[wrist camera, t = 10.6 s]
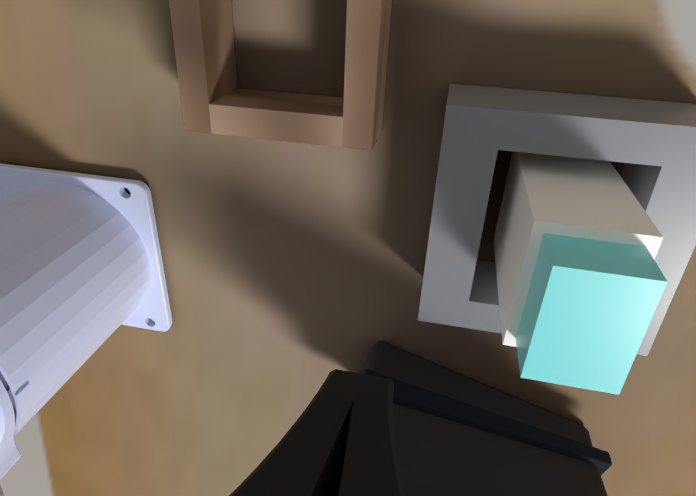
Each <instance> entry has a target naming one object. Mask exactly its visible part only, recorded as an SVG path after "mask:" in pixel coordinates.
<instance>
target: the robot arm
mask: <svg viewBox="0 0 696 496" xmlns="http://www.w3.org/2000/svg"><path fill="white" fill-rule="evenodd" d="M125 188H127V189H128V190H129V191H130V193H131V195H130V194H128V193H127V192H126V191H125ZM151 319H152V320H153V321H152V320H151ZM120 325H127V326H133V327H139V328H145V329H150V330H156V331H167V330H168V329H169V328H170V327H171V325H172V316H171V310H170V304H169V298H168V292H167V286H166V280H165V275H164V269H163V263H162V257H161V251H160V245H159V239H158V233H157V227H156V221H155V215H154V209H153V203H152V197H151V192H150V189H149V187H148V186H147V185H146V184H145V183H144V182H142V181H139V180H132V179H123V178H115V177H107V176H99V175H91V174H83V173H75V172H67V171H59V170H51V169H43V168H34V167H26V166H18V165H10V164H2V163H0V479H1V478H2V477H3V476H4V475H5V474H6V473H7V472H8V470H9V469H10V468H11V467H12V466H13V465H14V464H15V463H16V462H17V460H18V459H19V458H20V457H21V454H20V452H19V451H18V449H17V447H16V445H15V442H14V438H13V437H14V436H15V435H16V434H17V433H18V432H19V431H20V430H21V429H22V428H23V427H24V426H25V425H26V423H28V422H29V420H30V419H31V418H32V417H33V416H34V415H35V414H36V413H37V412H38V411H39V410H40V409H41V408H42V407H43V406H44V405H45V404H46V403H47V402H48V401H49V399H50V398H51V397H52V396H53V395H54V394H55V393H56V392H57V391H58V390H59V389H60V388H61V387H62V386H63V385H64V384H65V383H66V382H67V381H68V379H69V378H70V377H71V376H72V375H73V374H74V373H75V372H76V371H77V370H78V369H79V368H80V367H81V366H82V365H83V364H84V363H85V362H86V361H87V359H88V358H89V357H90V356H91V355H92V354H93V353H94V352H95V351H96V350H97V349H98V348H99V347H100V346H101V345H102V344H103V343H104V342H105V341H106V340H107V338H108V337H109V336H110V335H111V334H112V333H113V332H114V331H115V330H116V329H117V328H118V327H119V326H120ZM393 391H394V383H393V382H392V381H391V380H390V379H388V378H382V377H376V376H371V375H365V374H359V373H354V372H348V371H342V370H337V369H335V370H333V371H332V372H330V373H329V375H328V377H327V379H326V380H325V382H324V383H323V385H322V386H321V388H320V390H319V391H318V392H317V394H316V395H315V397H314V398H313V400H312V401H311V402H310V404H309V405H308V407H307V408H306V409H305V411H304V412H303V413H302V415H301V416H300V417H299V418H298V420H297V421H296V422H295V423H294V425H293V426H292V427H291V428H290V430H289V431H288V432H287V433H286V435H285V436H284V437H283V438H282V440H281V441H280V442H279V443H278V444H277V445H276V447H275V448H274V449H273V450H272V451H271V452H270V453H269V454H268V455H267V457H266V458H265V459H264V460H263V461H262V462H261V463H260V464H259V465H258V467H257V468H256V469H255V470H254V471H253V472H252V473H251V474H250V475H249V476H248V477H247V478H246V479H245V480H244V481H243V482H242V483H241V485H240V486H239V487H238V488H237V489H236V490H235V491H234V492H233V493H231V494H230V495H229V496H405V492H404V487H403V482H402V477H401V472H400V466H399V460H398V454H397V448H396V441H395V433H394V422H393ZM0 496H4V494H3V491H2V489H1V486H0Z"/></svg>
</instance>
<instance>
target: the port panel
mask: <svg viewBox="0 0 696 496" xmlns="http://www.w3.org/2000/svg"><path fill="white" fill-rule="evenodd" d="M498 150H504V151H514V152H524V153H534V154H543V155H553V156H563V157H573V158H583V159H593V160H603V161H613V162H622V163H624V166H623V169H622V172H621V177H622V179H623V180H624V182H625V183H626V185H627V186H628V187H629V189H630V190H631V192H632V193H633V195H634V196H635V197H636V199H637V200H638V202H639V203H640V205H641V206H642V207H643V209H644V210H645V212H646V213H647V215H648V216H649V217H650V219H651V220H652V222H653V223H654V225H655V226H656V227H657V229H658V230H659V232H660V233H661V235H662V236H663V240H662V242H661V245H660V247H659V250H658V252H657V255H656V257H655V262H656V264H657V265H658V267H659V268H660V270H661V272H662V273H663V275H664V276H665V278H666V280H667V281H668V282H667V285H666V287H665V289H664V292H663V294H662V296H661V299H660V301H659V303H658V305H657V308H656V310H655V312H654V315H653V317H652V319H651V322H650V324H649V326H648V329H647V331H646V333H645V336H644V338H643V340H642V343H641V345H640V347H639V350H638V352H637V354H636V355H643V356H647V355H648V353H649V351H650V348H651V346H652V344H653V342H654V339H655V337H656V335H657V332H658V330H659V328H660V325H661V323H662V321H663V319H664V316H665V314H666V312H667V309H668V307H669V305H670V302H671V300H672V298H673V296H674V293H675V291H676V289H677V286H678V284H679V282H680V279H681V277H682V275H683V273H684V270H685V268H686V266H687V263H688V261H689V259H690V256H691V254H692V252H693V250H694V247H695V245H696V104H692V103H680V102H667V101H655V100H643V99H631V98H619V97H607V96H595V95H583V94H571V93H559V92H546V91H534V90H522V89H510V88H498V87H486V86H474V85H462V84H450V85H449V92H448V98H447V104H446V112H445V119H444V127H443V134H442V142H441V149H440V157H439V164H438V172H437V179H436V187H435V194H434V202H433V209H432V216H431V224H430V231H429V239H428V246H427V254H426V261H425V269H424V276H423V284H422V291H421V299H420V306H419V314H418V321H424V322H431V323H437V324H444V325H450V326H456V327H463V328H469V329H476V330H482V331H489V332H495V333H501V334H502V332H501V321H500V309H499V298H498V287H497V275H496V264H495V262H488V261H481V260H477V256H478V251H479V246H480V241H481V236H482V230H483V225H484V220H485V215H486V210H487V204H488V199H489V194H490V189H491V184H492V178H493V173H494V168H495V163H496V158H497V152H498Z"/></svg>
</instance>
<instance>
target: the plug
mask: <svg viewBox="0 0 696 496" xmlns="http://www.w3.org/2000/svg"><path fill="white" fill-rule="evenodd" d="M662 240H663V236H662V235H661V233H660V232H659V230H658V229H657V227H656V226H655V225H654V223H653V222H652V220H651V219H650V217H649V216H648V215H647V213H646V212H645V210H644V209H643V207H642V206H641V205H640V203H639V202H638V200H637V199H636V197H635V196H634V195H633V193H632V192H631V190H630V189H629V187H628V186H627V185H626V183H625V182H624V180H623V179H622V177H621V176H620V175H619V173H618V172H617V170H616V169H615V167H614V166H613V165H612V163H611V162H610V161H603V160H593V159H583V158H573V157H563V156H553V155H543V154H534V153H524V152H514V151H513V152H512V157H511V161H510V166H509V171H508V175H507V180H506V185H505V189H504V194H503V198H502V203H501V208H500V212H499V217H498V222H497V226H496V231H495V235H494V240H493V241H494V253H495V264H496V275H497V287H498V298H499V309H500V321H501V332H502V343H503V345H508V346H514V347H517V354H518V362H519V370H520V378H526V379H531V380H537V381H543V382H549V383H554V384H560V385H566V386H572V387H578V388H583V389H589V390H595V391H601V392H606V393H612V394H618V395H619V394H620V391H621V389H622V387H623V384H624V382H625V380H626V377H627V375H628V373H629V370H630V368H631V366H632V363H633V361H634V359H635V357H636V354H637V352H638V350H639V347H640V345H641V343H642V340H643V338H644V336H645V333H646V331H647V329H648V326H649V324H650V322H651V319H652V317H653V315H654V312H655V310H656V308H657V305H658V303H659V301H660V299H661V296H662V294H663V292H664V289H665V287H666V285H667V282H668V281H667V280H666V278H665V276H664V275H663V273H662V272H661V270H660V268H659V267H658V265H657V264H656V262H655V257H656V255H657V252H658V250H659V247H660V245H661V242H662Z"/></svg>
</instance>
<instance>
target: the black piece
mask: <svg viewBox="0 0 696 496" xmlns="http://www.w3.org/2000/svg"><path fill="white" fill-rule="evenodd" d="M360 374H365V375H371V376H376V377H382V378H388V379H390V380H391V381H392V382H393V383H394V391H393V422H394V433H395V441H396V448H397V454H398V460H399V466H400V472H401V477H402V482H403V487H404V492H405V496H607V493H606V490H605V487H604V484H603V481H602V478H601V475H602V474H603V473H604V472H605V471H606V470H607V469H608V468H609V467H610V466H611V465H612V462H611V459H610V455H609V453H608V452H606V451H603V450H600V449H597V448H594V447H592V443H591V439H590V435H589V432H588V430H587V429H586V428H585V427H584V426H582V425H579V424H577V423H575V422H572V421H570V420H568V419H565V418H563V417H560V416H558V415H556V414H553V413H551V412H548V411H546V410H544V409H541V408H539V407H537V406H534V405H532V404H529V403H527V402H525V401H522V400H520V399H517V398H515V397H513V396H510V395H508V394H506V393H503V392H501V391H498V390H496V389H494V388H491V387H489V386H486V385H484V384H482V383H479V382H477V381H475V380H472V379H470V378H467V377H465V376H463V375H460V374H458V373H456V372H453V371H451V370H448V369H446V368H444V367H441V366H439V365H436V364H434V363H432V362H429V361H427V360H425V359H422V358H420V357H417V356H415V355H413V354H410V353H408V352H405V351H403V350H401V349H398V348H396V347H394V346H391V345H389V344H386V343H384V342H378V343H376V344H375V345H374V347H373V349H372V350H371V352H370V354H369V356H368V358H367V360H366V362H365V364H364V366H363V368H362V370H361V372H360Z"/></svg>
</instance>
